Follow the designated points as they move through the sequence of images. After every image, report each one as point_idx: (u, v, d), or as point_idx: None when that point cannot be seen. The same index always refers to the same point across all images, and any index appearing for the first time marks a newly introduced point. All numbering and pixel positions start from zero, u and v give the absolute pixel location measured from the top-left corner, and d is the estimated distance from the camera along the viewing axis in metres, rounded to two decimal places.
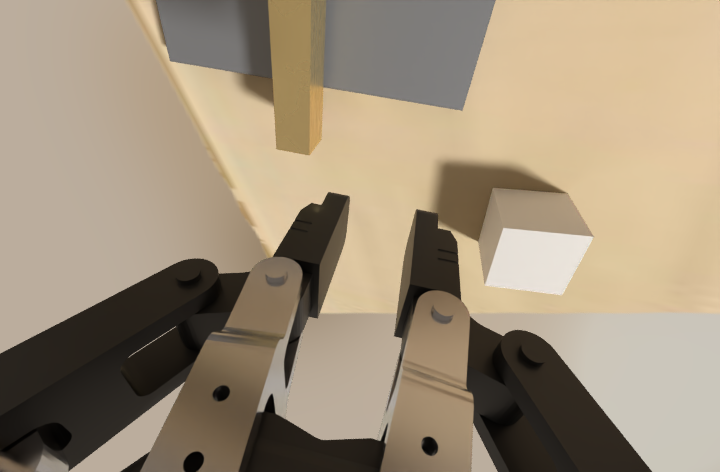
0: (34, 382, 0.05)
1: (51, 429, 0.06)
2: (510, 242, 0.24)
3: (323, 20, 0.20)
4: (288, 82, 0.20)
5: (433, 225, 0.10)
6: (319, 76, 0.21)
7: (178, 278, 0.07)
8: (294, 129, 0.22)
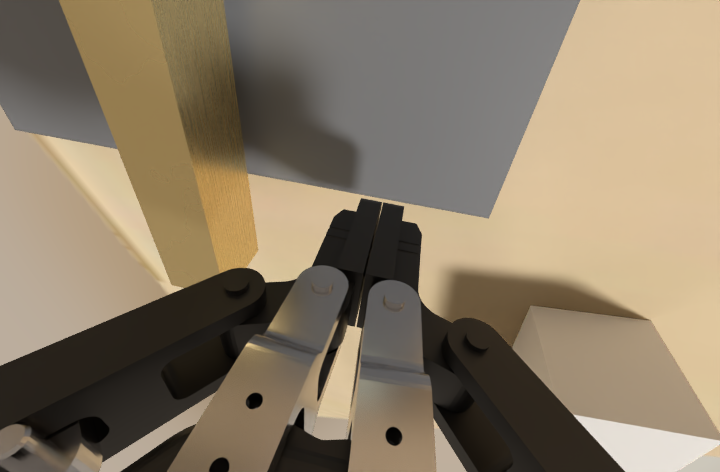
0: (82, 376, 0.05)
1: (93, 418, 0.06)
2: None
3: (226, 78, 0.10)
4: (163, 195, 0.11)
5: (397, 217, 0.10)
6: (232, 172, 0.12)
7: (226, 287, 0.07)
8: (192, 262, 0.12)
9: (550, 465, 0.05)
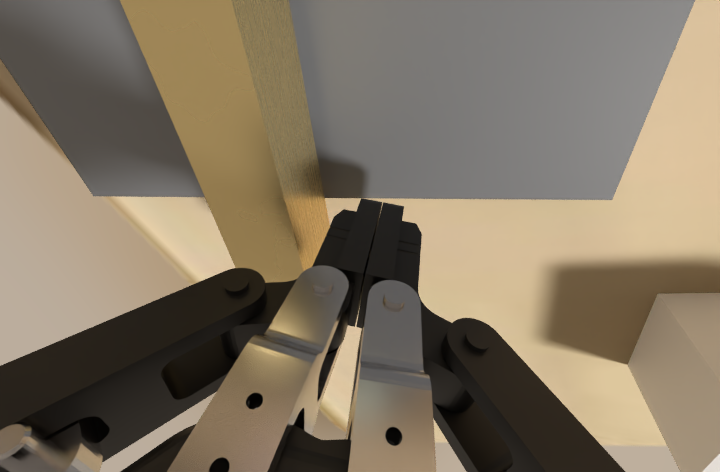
0: (82, 376, 0.05)
1: (93, 418, 0.06)
2: None
3: (301, 99, 0.10)
4: (251, 235, 0.10)
5: (397, 217, 0.10)
6: (313, 198, 0.11)
7: (226, 287, 0.07)
8: None
9: (550, 465, 0.05)
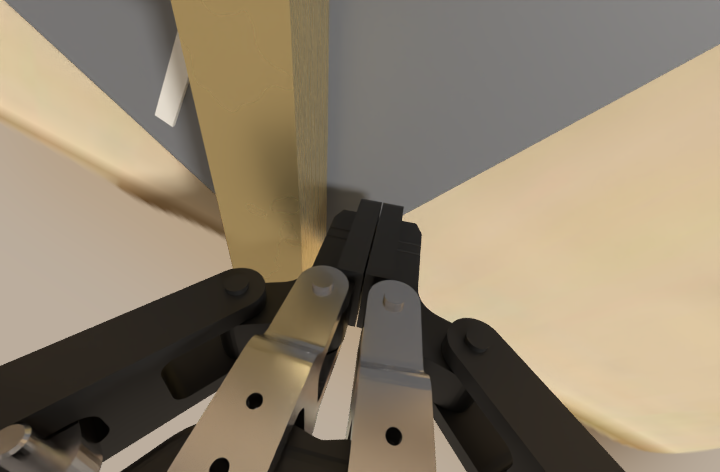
0: (82, 376, 0.05)
1: (94, 418, 0.06)
2: None
3: (324, 99, 0.09)
4: (256, 230, 0.10)
5: (397, 217, 0.10)
6: (319, 198, 0.11)
7: (226, 287, 0.07)
8: None
9: (550, 465, 0.05)
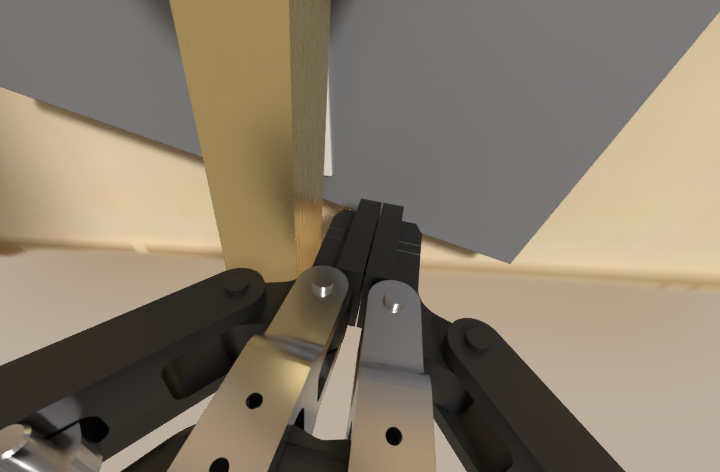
0: (82, 376, 0.05)
1: (93, 418, 0.06)
2: None
3: (323, 91, 0.09)
4: (249, 223, 0.09)
5: (397, 217, 0.10)
6: (315, 193, 0.11)
7: (226, 287, 0.07)
8: None
9: (550, 465, 0.05)
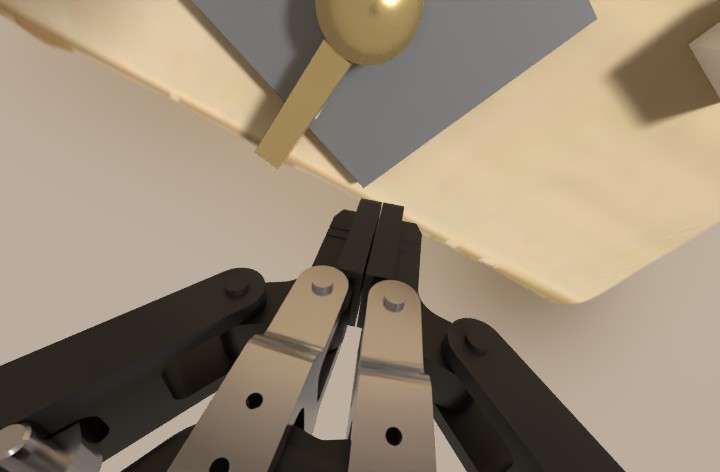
0: (82, 376, 0.05)
1: (93, 418, 0.06)
2: None
3: (332, 92, 0.27)
4: (290, 120, 0.27)
5: (397, 217, 0.10)
6: (311, 122, 0.28)
7: (226, 287, 0.07)
8: (276, 148, 0.28)
9: (550, 465, 0.05)
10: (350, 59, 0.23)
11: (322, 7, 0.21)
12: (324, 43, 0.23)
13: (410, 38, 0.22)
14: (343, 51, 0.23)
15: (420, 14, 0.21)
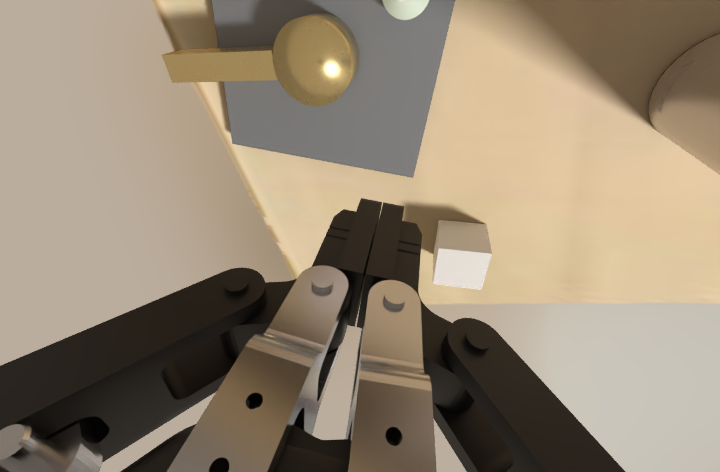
0: (82, 376, 0.05)
1: (94, 418, 0.06)
2: (444, 257, 0.39)
3: None
4: (209, 65, 0.30)
5: (397, 217, 0.10)
6: None
7: (226, 287, 0.07)
8: (183, 70, 0.31)
9: (550, 465, 0.05)
10: (278, 78, 0.30)
11: (284, 35, 0.27)
12: (270, 52, 0.29)
13: (320, 105, 0.30)
14: (278, 70, 0.29)
15: (333, 100, 0.30)
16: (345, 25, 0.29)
